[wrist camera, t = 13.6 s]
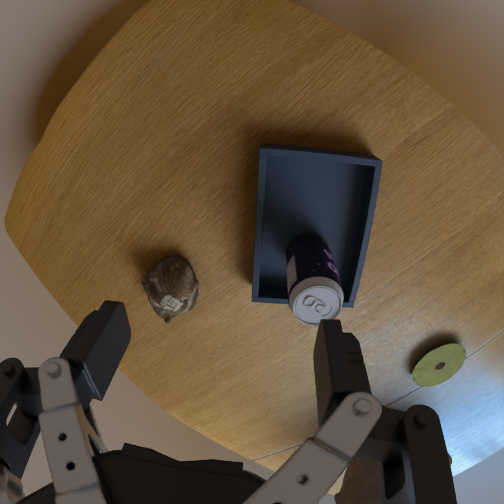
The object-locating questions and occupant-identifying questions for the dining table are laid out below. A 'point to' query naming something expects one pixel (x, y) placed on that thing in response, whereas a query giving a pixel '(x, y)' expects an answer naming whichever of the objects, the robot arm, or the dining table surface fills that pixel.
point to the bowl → (361, 483)
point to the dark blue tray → (312, 213)
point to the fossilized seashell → (171, 287)
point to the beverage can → (313, 280)
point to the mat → (439, 365)
